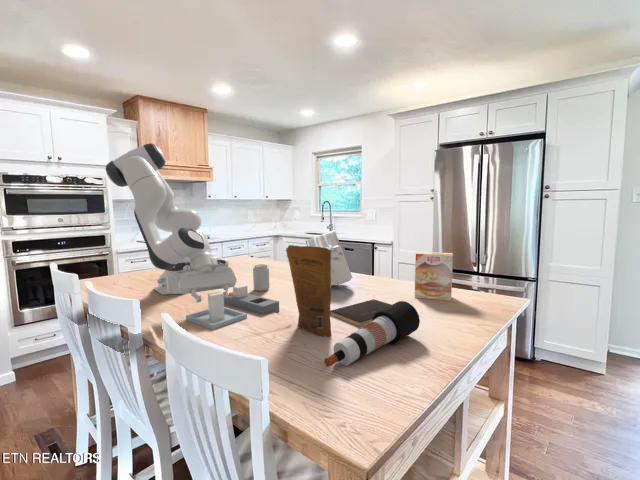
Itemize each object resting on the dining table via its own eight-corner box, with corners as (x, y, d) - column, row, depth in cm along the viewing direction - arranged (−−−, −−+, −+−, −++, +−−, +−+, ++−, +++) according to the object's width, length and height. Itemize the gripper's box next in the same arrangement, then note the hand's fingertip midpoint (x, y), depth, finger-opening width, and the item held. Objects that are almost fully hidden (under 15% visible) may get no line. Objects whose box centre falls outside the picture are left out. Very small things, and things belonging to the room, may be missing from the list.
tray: (186, 322, 119) (185, 315, 119) (220, 311, 130) (219, 305, 130) (213, 332, 109) (212, 325, 109) (247, 320, 120) (246, 313, 120)
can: (266, 292, 158) (265, 266, 157) (251, 291, 160) (250, 266, 158) (271, 288, 165) (271, 263, 164) (257, 287, 167) (256, 263, 166)
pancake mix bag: (324, 341, 102) (323, 249, 99) (285, 325, 116) (284, 243, 113) (339, 335, 106) (339, 247, 103) (301, 320, 120) (299, 242, 117)
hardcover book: (403, 314, 127) (403, 308, 127) (359, 328, 114) (359, 321, 113) (372, 304, 140) (372, 298, 140) (329, 316, 126) (329, 310, 126)
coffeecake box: (414, 297, 147) (415, 253, 145) (416, 293, 154) (417, 251, 151) (451, 301, 141) (452, 255, 139) (451, 296, 148) (453, 252, 146)
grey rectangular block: (208, 318, 120) (207, 293, 119) (221, 316, 122) (220, 291, 121) (212, 321, 117) (210, 296, 116) (224, 318, 120) (223, 293, 118)
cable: (323, 384, 86) (308, 346, 88) (400, 334, 109) (387, 305, 110) (347, 381, 79) (330, 340, 81) (425, 329, 101) (410, 297, 103)
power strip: (223, 305, 139) (222, 286, 138) (239, 300, 145) (238, 282, 144) (263, 317, 124) (263, 295, 123) (279, 311, 130) (278, 291, 129)
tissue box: (355, 285, 158) (336, 232, 156) (321, 297, 159) (302, 245, 156) (351, 275, 179) (335, 229, 177) (322, 286, 180) (305, 240, 177)
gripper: (175, 265, 119) (183, 299, 112) (231, 260, 130) (242, 290, 123) (173, 276, 123) (180, 309, 116) (228, 269, 135) (238, 299, 128)
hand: (212, 299), depth 120 cm, fingers open, 8 cm apart
